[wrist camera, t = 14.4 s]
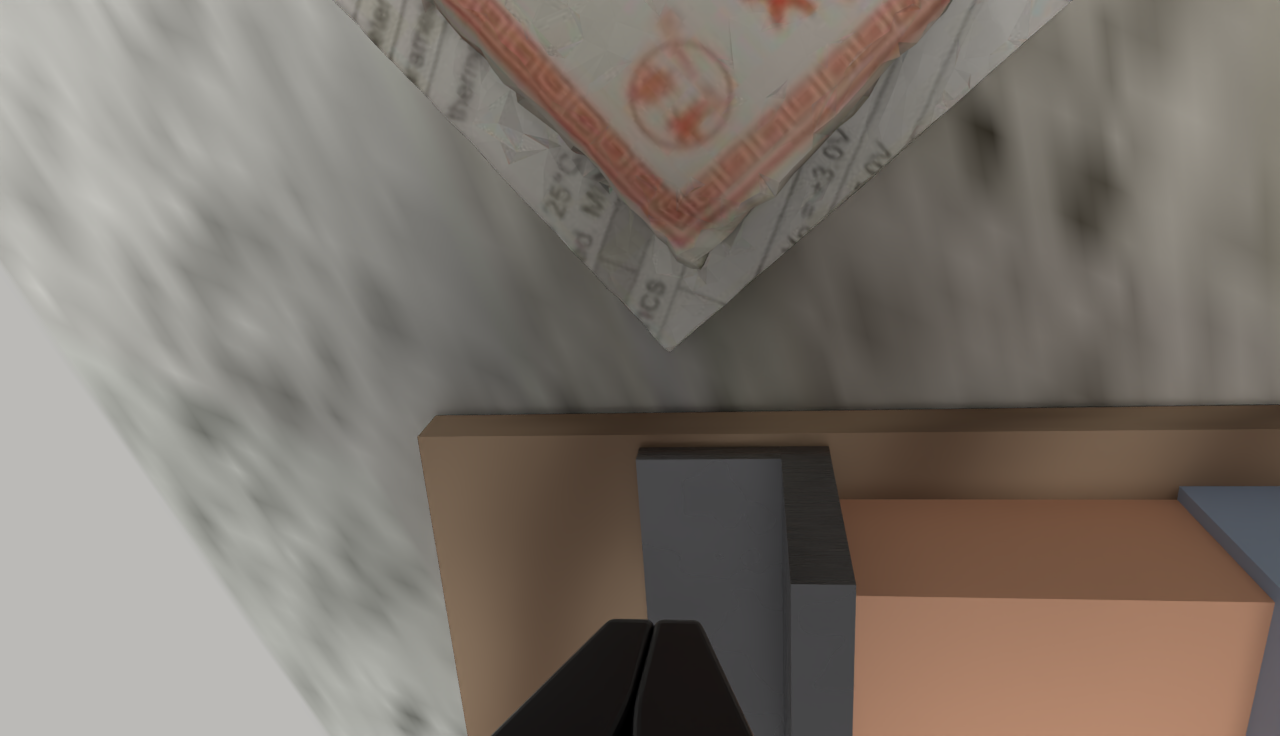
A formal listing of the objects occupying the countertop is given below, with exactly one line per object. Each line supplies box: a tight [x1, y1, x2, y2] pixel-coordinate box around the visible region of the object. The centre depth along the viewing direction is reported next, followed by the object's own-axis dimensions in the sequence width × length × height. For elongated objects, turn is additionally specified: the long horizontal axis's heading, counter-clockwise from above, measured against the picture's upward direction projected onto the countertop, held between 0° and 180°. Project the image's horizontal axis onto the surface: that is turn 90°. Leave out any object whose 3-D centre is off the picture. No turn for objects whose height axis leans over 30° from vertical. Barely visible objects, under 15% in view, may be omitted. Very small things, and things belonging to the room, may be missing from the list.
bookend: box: [636, 446, 856, 736], centre depth 17 cm, size 4×8×5 cm, turn 4°
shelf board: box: [417, 405, 1280, 736], centre depth 18 cm, size 22×8×6 cm, turn 94°
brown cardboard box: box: [839, 499, 1275, 736], centre depth 17 cm, size 7×6×4 cm
